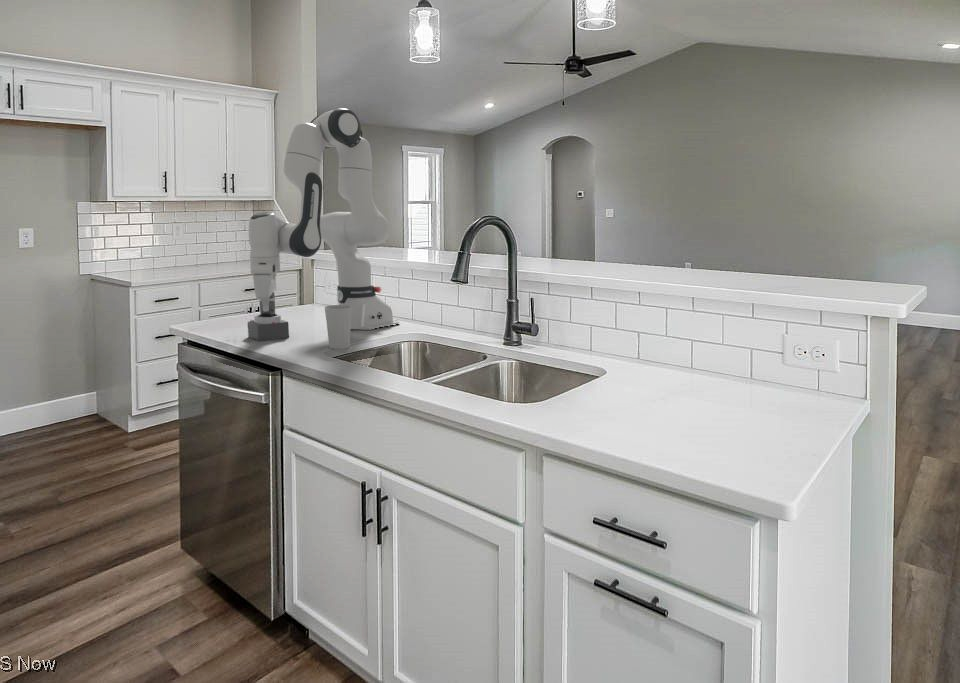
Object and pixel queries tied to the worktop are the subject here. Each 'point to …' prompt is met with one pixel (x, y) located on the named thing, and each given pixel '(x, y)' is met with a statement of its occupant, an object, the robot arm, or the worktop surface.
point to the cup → (338, 325)
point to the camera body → (268, 328)
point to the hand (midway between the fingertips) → (267, 309)
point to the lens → (271, 307)
